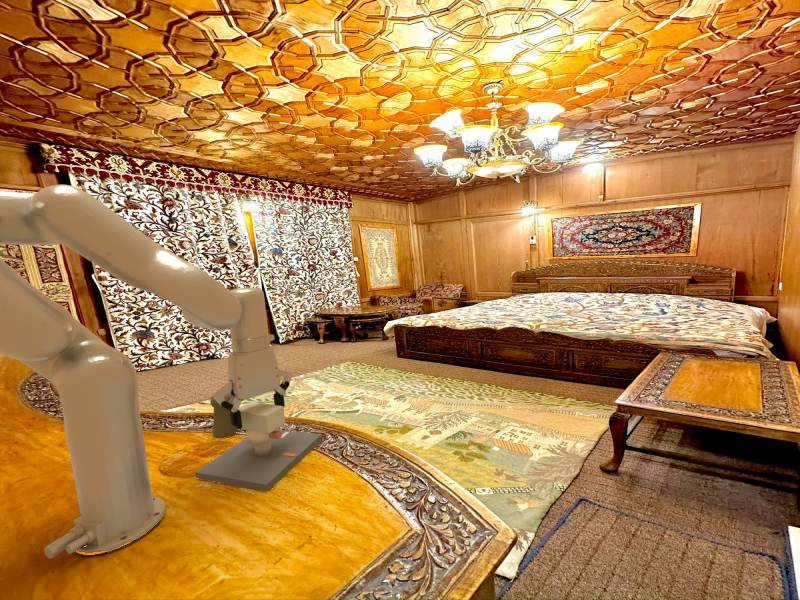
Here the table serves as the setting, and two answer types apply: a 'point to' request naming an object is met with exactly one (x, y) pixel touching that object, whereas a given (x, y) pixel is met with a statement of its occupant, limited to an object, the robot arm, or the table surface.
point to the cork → (222, 419)
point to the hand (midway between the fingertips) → (259, 418)
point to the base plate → (260, 461)
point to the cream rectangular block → (262, 421)
